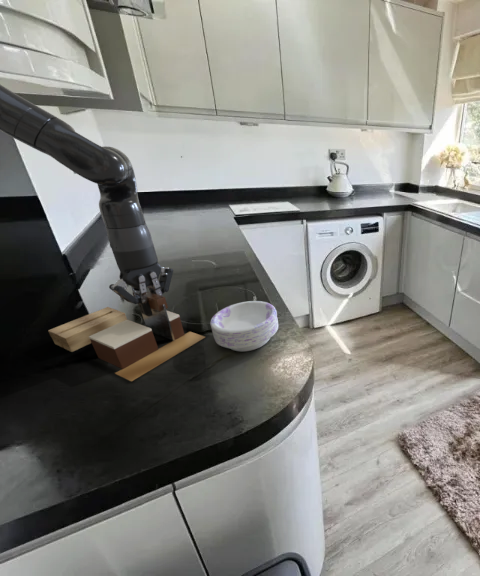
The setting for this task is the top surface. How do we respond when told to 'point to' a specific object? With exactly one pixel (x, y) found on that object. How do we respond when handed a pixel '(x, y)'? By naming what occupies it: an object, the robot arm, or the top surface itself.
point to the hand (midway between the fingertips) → (154, 312)
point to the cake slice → (175, 324)
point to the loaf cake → (124, 343)
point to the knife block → (85, 328)
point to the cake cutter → (158, 316)
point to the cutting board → (159, 356)
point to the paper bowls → (245, 325)
